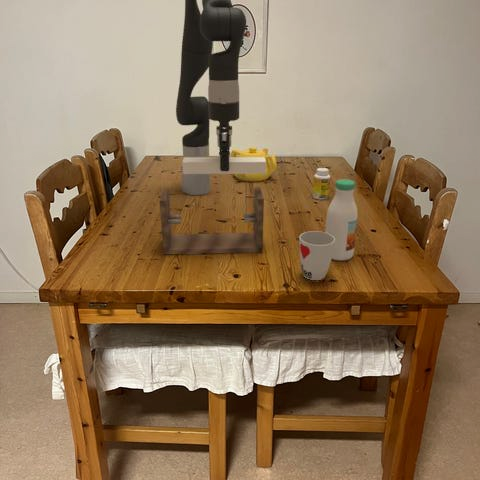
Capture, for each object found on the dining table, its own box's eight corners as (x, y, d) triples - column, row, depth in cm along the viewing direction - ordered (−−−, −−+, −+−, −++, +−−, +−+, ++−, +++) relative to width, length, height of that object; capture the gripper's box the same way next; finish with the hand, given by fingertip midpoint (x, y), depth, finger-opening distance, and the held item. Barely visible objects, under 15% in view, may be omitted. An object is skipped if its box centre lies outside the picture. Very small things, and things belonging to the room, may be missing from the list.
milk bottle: (335, 263, 117) (343, 187, 109) (317, 251, 123) (323, 179, 115) (359, 257, 120) (368, 183, 112) (340, 246, 126) (347, 175, 118)
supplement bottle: (319, 201, 160) (322, 172, 156) (309, 196, 164) (311, 168, 160) (331, 198, 163) (334, 169, 158) (321, 194, 167) (323, 166, 163)
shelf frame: (163, 255, 121) (159, 200, 115) (166, 239, 130) (163, 188, 124) (262, 252, 123) (263, 198, 116) (258, 237, 132) (259, 186, 126)
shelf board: (183, 173, 117) (182, 162, 116) (184, 168, 122) (184, 157, 120) (265, 173, 118) (266, 161, 116) (264, 168, 122) (264, 157, 121)
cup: (294, 268, 114) (296, 231, 110) (326, 267, 115) (329, 230, 111) (300, 285, 107) (303, 245, 103) (335, 283, 108) (339, 244, 104)
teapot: (278, 182, 180) (279, 151, 175) (236, 184, 177) (236, 153, 172) (266, 170, 195) (267, 141, 190) (227, 172, 192) (227, 143, 187)
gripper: (209, 95, 119) (210, 161, 126) (207, 103, 106) (209, 175, 113) (238, 95, 119) (238, 160, 126) (240, 103, 106) (240, 175, 113)
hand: (224, 167), depth 119 cm, fingers closed on shelf board, 5 cm apart
